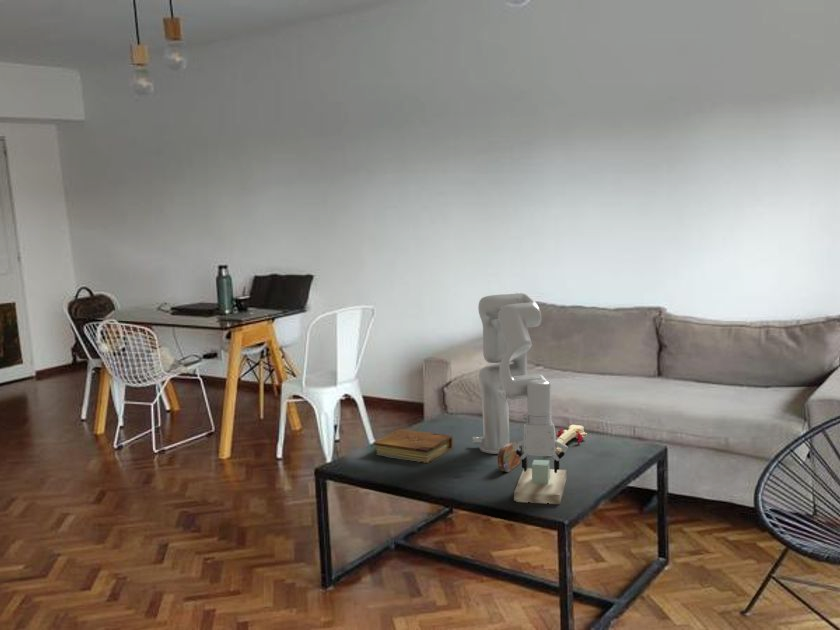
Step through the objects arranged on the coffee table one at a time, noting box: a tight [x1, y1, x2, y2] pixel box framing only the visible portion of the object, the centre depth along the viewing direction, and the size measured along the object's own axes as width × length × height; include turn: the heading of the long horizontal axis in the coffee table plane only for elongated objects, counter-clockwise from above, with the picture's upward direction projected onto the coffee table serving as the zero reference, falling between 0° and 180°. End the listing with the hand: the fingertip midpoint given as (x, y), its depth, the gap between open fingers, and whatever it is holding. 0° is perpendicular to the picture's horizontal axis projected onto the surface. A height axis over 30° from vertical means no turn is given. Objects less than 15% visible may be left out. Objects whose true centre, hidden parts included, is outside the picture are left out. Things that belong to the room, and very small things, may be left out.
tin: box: [497, 441, 523, 473], centre depth 282 cm, size 15×3×8 cm, turn 148°
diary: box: [373, 428, 454, 464], centre depth 304 cm, size 23×19×6 cm
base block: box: [513, 467, 567, 505], centre depth 261 cm, size 14×22×3 cm, turn 165°
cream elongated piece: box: [555, 424, 588, 454], centre depth 304 cm, size 10×9×25 cm
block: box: [531, 459, 551, 484], centre depth 260 cm, size 5×5×6 cm
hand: (540, 470), depth 260 cm, fingers open, 9 cm apart
